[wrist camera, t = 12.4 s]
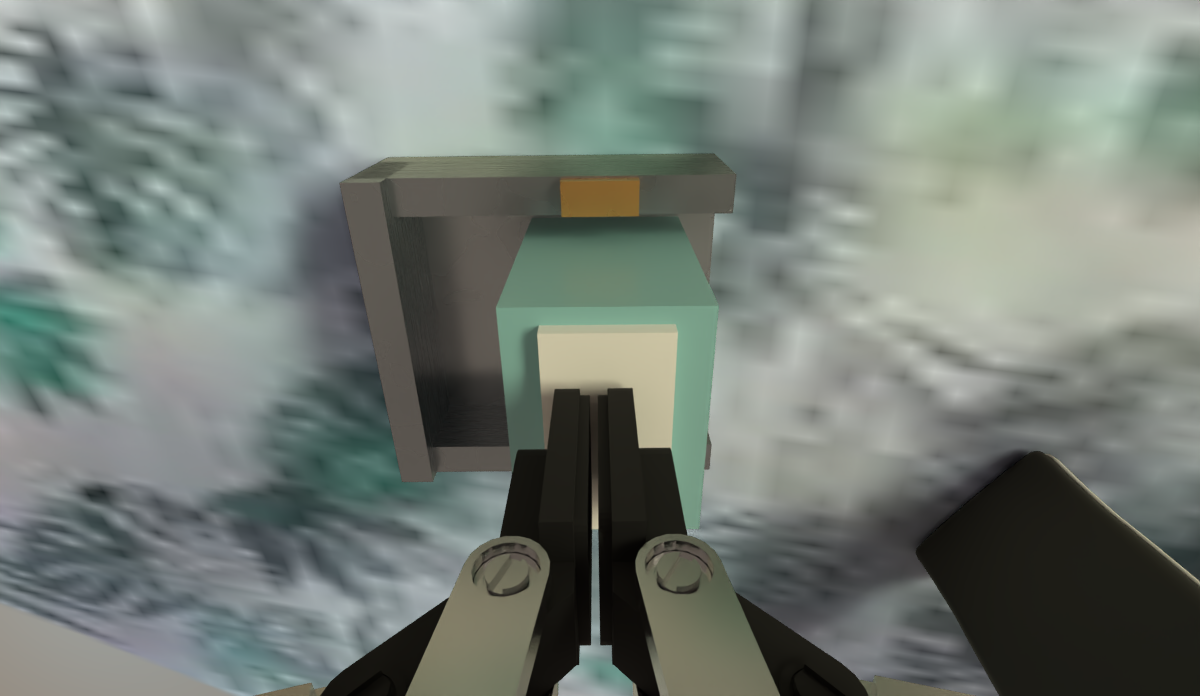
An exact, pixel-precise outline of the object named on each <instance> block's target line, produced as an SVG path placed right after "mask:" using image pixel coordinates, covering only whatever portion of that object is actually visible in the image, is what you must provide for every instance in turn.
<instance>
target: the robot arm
mask: <svg viewBox="0 0 1200 696" xmlns="http://www.w3.org/2000/svg"><path fill="white" fill-rule="evenodd" d="M598 533H599V593H600V645H612V664H613V665H615V666H616V667H617V668H618V669H619V670H620V671H621V672H622V673H623V674H625V675H626V676H627V677H628V678H629V679H630V680H631V681H632V682H633V696H974V695H970V694H965V693H960V692H955V691H950V690H945V689H940V688H935V687H930V686H925V685H920V684H915V683H910V682H905V681H900V680H895V679H890V678H886V677H881V676H876V675H875V676H874V679H873V682H869V681H864V680H859V679H858V678H857V677H856V675H855V674H854V673H852V672H851V671H850V670H849V669H848V668H846V667H845V666H844V665H843V664H842V663H840V662H839V661H837V660H836V659H834V658H833V657H831V656H830V655H828V654H827V653H825V652H824V651H822V650H821V649H819V648H818V647H816V646H815V645H813V644H812V643H810V642H809V641H807V640H806V639H804V638H803V637H801V636H800V635H799V634H797V633H796V632H794V631H793V630H791V629H790V628H788V627H787V626H785V625H784V624H782V623H781V622H779V621H778V620H776V619H775V618H773V617H772V616H770V615H769V614H767V613H766V612H764V611H763V610H761V609H760V608H758V607H757V606H755V605H754V604H752V603H751V602H749V601H748V600H746V599H745V598H743V597H742V596H740V595H739V594H737V593H736V592H735V591H734V589H733V587H732V584H731V582H730V580H729V577H728V575H727V573H726V571H725V568H724V566H723V564H722V561H721V560H720V558H719V556H718V555H717V553H716V552H715V550H713V549H712V548H711V547H710V546H709V545H707V544H706V543H705V542H703V541H701V540H699V539H697V538H695V537H692V536H687V531H686V526H685V520H684V515H683V509H682V504H681V499H680V493H679V488H678V483H677V477H676V472H675V467H674V461H673V456H672V451H671V449H670V448H639V443H638V434H637V425H636V415H635V406H634V396H633V388H608V389H607V395H598ZM591 580H592V472H591V428H590V395H580V389H555V390H554V397H553V405H552V413H551V422H550V430H549V438H548V446H547V449H518V451H517V453H516V458H515V463H514V468H513V473H512V478H511V483H510V488H509V493H508V499H507V504H506V509H505V514H504V519H503V524H502V529H501V534H500V538H496V539H492V540H490V541H488V542H486V543H484V544H482V545H480V546H479V547H478V548H477V549H476V550H474V551H473V552H472V553H471V554H470V556H469V557H468V559H467V560H466V562H465V563H464V565H463V568H462V570H461V572H460V574H459V577H458V579H457V581H456V583H455V586H454V588H453V590H452V592H451V595H450V597H449V598H447V599H446V600H444V601H443V602H441V603H440V604H439V605H437V606H436V607H434V608H433V609H431V610H430V611H428V612H427V613H426V614H424V615H423V616H421V617H420V618H418V619H417V620H415V621H414V622H413V623H411V624H410V625H408V626H407V627H405V628H404V629H402V630H401V631H400V632H398V633H397V634H395V635H394V636H392V637H391V638H390V639H388V640H387V641H385V642H384V643H382V644H381V645H379V646H378V647H377V648H375V649H374V650H372V651H371V652H369V653H368V654H366V655H365V656H364V657H362V658H361V659H359V660H358V661H356V662H355V663H353V664H352V665H351V666H349V667H348V668H346V669H345V670H344V671H342V672H341V673H340V674H339V675H338V676H337V677H335V678H334V679H333V680H332V681H331V682H330V683H329V684H328V686H327V687H323V688H319V689H314V688H313V685H312V683H308V684H303V685H299V686H294V687H290V688H286V689H281V690H277V691H273V692H268V693H264V694H259V695H255V696H558V685H559V684H558V682H559V681H560V680H561V679H562V678H563V677H564V676H565V675H566V674H567V673H568V672H570V671H571V670H572V669H573V668H574V667H575V666H576V665H579V651H580V645H591Z"/></svg>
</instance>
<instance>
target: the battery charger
mask: <svg viewBox="0 0 1200 696" xmlns="http://www.w3.org/2000/svg"><path fill="white" fill-rule="evenodd" d="M916 555H917V557H918V559H919V560H920V562H921V563H922V565H923V566H924V568H925V569H926V571H927V572H928V574H929V575H930V577H931V578H932V580H933V581H934V583H935V585H936V586H937V588H938V590H939V591H940V593H941V594H942V596H943V597H944V599H945V600H946V602H947V604H948V605H949V607H950V609H951V610H952V612H953V614H954V615H955V617H956V619H957V621H958V623H959V624H960V626H961V628H962V630H963V632H964V634H965V636H966V637H967V639H968V641H969V643H970V645H971V646H972V648H973V650H974V652H975V654H976V655H977V657H978V659H979V661H980V663H981V664H982V666H983V668H984V670H985V671H986V673H987V675H988V677H989V679H990V680H991V682H992V684H993V686H994V687H995V689H996V691H997V693H998V694H999V696H1200V581H1199V580H1197V579H1196V578H1195V577H1194V576H1193V575H1191V574H1190V573H1189V572H1188V571H1187V570H1185V569H1184V568H1183V567H1182V566H1181V565H1179V564H1178V563H1177V562H1176V561H1175V560H1173V559H1172V558H1171V557H1170V556H1168V555H1167V554H1166V553H1165V552H1164V551H1162V550H1161V549H1160V548H1159V547H1158V546H1156V545H1155V544H1154V543H1153V542H1151V541H1150V540H1149V539H1148V538H1146V537H1145V536H1144V535H1143V534H1141V533H1140V532H1139V531H1138V530H1136V529H1135V528H1134V527H1133V526H1131V525H1130V524H1129V523H1128V522H1126V521H1125V520H1124V519H1122V518H1121V517H1120V516H1119V515H1118V514H1116V513H1115V512H1114V511H1113V510H1112V509H1111V508H1110V507H1108V506H1107V505H1106V504H1105V503H1104V502H1103V501H1102V500H1101V499H1099V498H1098V497H1097V496H1096V495H1095V494H1094V493H1093V492H1092V491H1090V490H1089V489H1088V488H1087V487H1086V486H1085V485H1084V484H1083V483H1082V482H1081V481H1080V480H1079V479H1078V478H1077V477H1076V476H1075V475H1074V474H1073V473H1072V472H1071V471H1070V470H1069V469H1068V468H1066V467H1065V466H1064V465H1063V464H1062V463H1061V462H1060V461H1059V460H1058V459H1056V458H1055V457H1053V456H1052V455H1050V454H1044V453H1042V452H1040V451H1034V452H1031V453H1029V454H1028V455H1027V456H1025V457H1024V458H1023V459H1021V460H1020V461H1019V462H1017V463H1016V464H1015V465H1013V466H1012V467H1011V468H1010V469H1008V470H1007V471H1006V472H1004V473H1003V474H1002V475H1001V476H999V477H998V478H997V479H996V480H994V481H993V482H992V483H991V484H989V485H988V486H987V487H986V488H985V489H983V490H982V491H981V492H980V493H978V494H977V495H976V496H975V497H974V498H972V499H971V500H970V501H969V502H968V503H966V504H965V505H964V506H963V507H962V508H961V509H960V510H958V511H957V512H956V513H955V514H954V515H953V516H952V517H950V518H949V519H948V520H947V521H946V522H945V523H944V524H942V525H941V526H940V527H939V528H938V529H937V530H936V531H935V532H934V533H933V534H932V535H931V536H929V537H928V538H927V539H926V540H925V541H924V542H923V543H922V544H921V545H920V546H919V547H918V548H917V550H916Z"/></svg>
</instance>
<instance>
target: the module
mask: <svg viewBox="0 0 1200 696" xmlns="http://www.w3.org/2000/svg"><path fill="white" fill-rule="evenodd" d="M718 309H719V305H718V303H717V301H716V299H715V296H714V294H713V292H712V290H711V288H710V285H709V283H708V281H707V279H706V277H705V274H704V272H703V270H702V268H701V266H700V263H699V261H698V259H697V257H696V255H695V253H694V250H693V248H692V246H691V244H690V242H689V239H688V237H687V235H686V233H685V231H684V228H683V226H682V224H681V222H680V220H679V217H678V216H672V217H571V218H532V219H531V221H530V224H529V226H528V229H527V231H526V234H525V236H524V239H523V241H522V244H521V246H520V249H519V251H518V254H517V256H516V259H515V261H514V264H513V266H512V269H511V271H510V274H509V276H508V279H507V281H506V284H505V286H504V289H503V291H502V294H501V296H500V299H499V301H498V304H497V306H496V314H497V324H498V335H499V345H500V355H501V365H502V375H503V385H504V395H505V406H506V416H507V426H508V436H509V446H510V456H511V466H512V473H513V468H514V463H515V458H516V453H517V451H518V449H547V446H548V438H549V430H550V422H551V413H552V405H553V397H554V390H555V389H580V395H590V428H591V472H592V530H598V395H607V389H608V388H633V396H634V406H635V415H636V425H637V434H638V443H639V448H670V449H671V451H672V456H673V461H674V467H675V472H676V477H677V483H678V488H679V493H680V499H681V504H682V509H683V515H684V520H685V526H686V529H699V523H700V512H701V500H702V489H703V478H704V467H705V455H706V444H707V433H708V422H709V410H710V399H711V388H712V376H713V365H714V354H715V343H716V331H717V320H718Z"/></svg>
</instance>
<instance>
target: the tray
mask: <svg viewBox="0 0 1200 696" xmlns="http://www.w3.org/2000/svg"><path fill="white" fill-rule="evenodd" d="M735 184H736V174H735V173H734V172H733V171H732V170H731V169H730V168H729V167H728V166H727V165H726V164H725V163H724V162H723V161H722V160H721V159H719V158H718V157H717V156H716V155H715V154H630V155H545V156H461V157H388V158H386V159H384V160H382V161H380V162H378V163H377V164H375V165H373V166H371V167H369V168H367V169H365V170H363V171H361V172H359V173H357V174H356V175H354V176H352V177H350V178H348V179H346V180H344V181H342V182H340V188H341V193H342V198H343V202H344V207H345V212H346V217H347V221H348V226H349V231H350V236H351V241H352V245H353V250H354V255H355V260H356V264H357V269H358V274H359V279H360V283H361V288H362V293H363V298H364V302H365V307H366V312H367V317H368V322H369V326H370V331H371V336H372V341H373V345H374V350H375V355H376V360H377V364H378V369H379V374H380V379H381V384H382V388H383V393H384V398H385V403H386V407H387V412H388V417H389V422H390V426H391V431H392V436H393V441H394V446H395V450H396V455H397V460H398V465H399V469H400V474H401V479H402V482H433V480H434V478H435V475H436V473H437V472H466V471H512V466H511V456H510V446H509V436H508V426H507V416H506V406H505V395H504V385H503V375H502V365H501V355H500V345H499V335H498V324H497V314H496V306H497V304H498V301H499V299H500V296H501V294H502V291H503V289H504V286H505V284H506V281H507V279H508V276H509V274H510V271H511V269H512V266H513V264H514V261H515V259H516V256H517V254H518V251H519V249H520V246H521V244H522V241H523V239H524V236H525V234H526V231H527V229H528V226H529V224H530V221H531V219H532V218H571V217H672V216H678V217H679V220H680V222H681V224H682V226H683V228H684V231H685V233H686V235H687V237H688V239H689V242H690V244H691V246H692V248H693V250H694V253H695V255H696V257H697V259H698V261H699V263H700V266H701V268H702V270H703V272H704V274H705V277H706V279H707V281H708V283H709V278H710V266H711V253H712V240H713V227H714V214H715V213H733V205H734V194H735ZM710 455H711V441H710V438H709V434H708V433H707V444H706V455H705V467H704V469H709V466H710Z"/></svg>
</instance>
